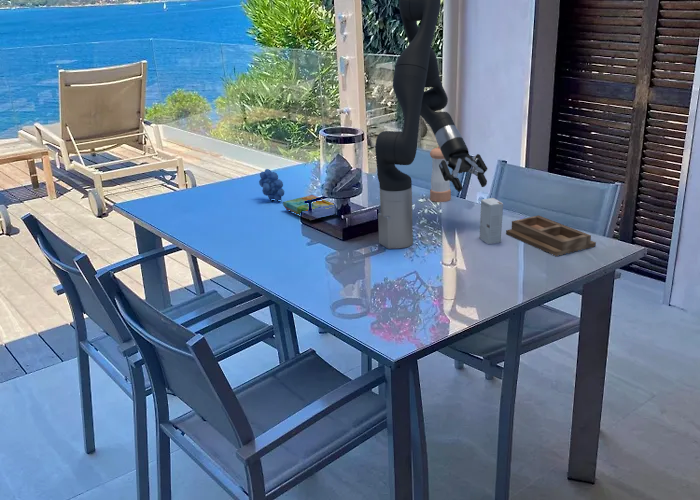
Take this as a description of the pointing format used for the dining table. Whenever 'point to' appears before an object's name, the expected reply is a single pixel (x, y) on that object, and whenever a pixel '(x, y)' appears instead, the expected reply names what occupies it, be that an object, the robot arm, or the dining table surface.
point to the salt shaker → (438, 179)
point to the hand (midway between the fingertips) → (472, 187)
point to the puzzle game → (304, 204)
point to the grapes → (271, 185)
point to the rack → (549, 235)
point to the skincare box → (491, 220)
